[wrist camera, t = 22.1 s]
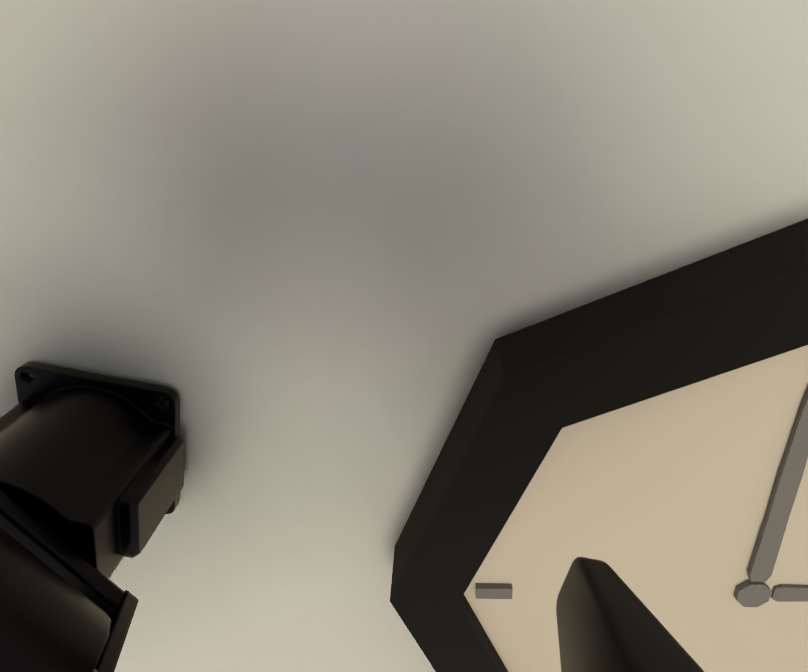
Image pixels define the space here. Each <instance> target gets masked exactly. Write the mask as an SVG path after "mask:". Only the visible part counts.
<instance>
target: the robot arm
mask: <svg viewBox="0 0 808 672" xmlns="http://www.w3.org/2000/svg"><path fill="white" fill-rule="evenodd" d="M28 373H30V374H31V375H32V376H33V377H31V376H30V375H29V374H28ZM15 380H16V387H17V394H18V401H19V404H18V405H17V406H15V407H14V408H13V409H11V410H10V411H9V412H7V413H6V414H4V415H3V416H2V417H0V672H114V670H115V667H116V664H117V662H118V659H119V656H120V653H121V650H122V647H123V644H124V641H125V638H126V635H127V632H128V629H129V627H130V624H131V621H132V618H133V615H134V612H135V609H136V606H137V603H138V599H137V598H136V597H134V596H133V595H132V594H131V593H130V592H129V591H127V590H126V591H123V590H121V589H120V588H119V587H118V586H117V585H115V584H114V583H113V582H112V581H111V580H109V578H110V576H111V575H112V573H113V572H114V570H115V569H116V567H117V566H118V564H119V563H120V561H121V560H122V558H123V557H124V556H125V557H131V558H134V557H135V556H137V555H138V554H139V553H141V551H142V550H143V548H144V547H145V545H146V543H147V542H148V540H149V539H150V537H151V536H152V534H153V533H154V531H155V529H156V528H157V526H158V525H159V523H160V522H161V520H162V518H163V517H164V515H165V514H169V513H172V512H173V511H174V509H175V508H176V506H177V505H178V502H179V492H180V490H181V489H182V487H183V485H184V441H183V439H182V437H181V436H179V395H178V394H177V392H176V391H174V390H173V389H171V388H169V387H164V386H159V385H153V384H148V383H143V382H137V381H132V380H126V379H121V378H116V377H110V376H105V375H99V374H94V373H88V372H83V371H78V370H72V369H67V368H61V367H56V366H50V365H45V364H40V363H34V362H27V363H25V364H23V365H22V366H20V367H19V368H17V370H16V371H15ZM162 397H164V398H166V399H167V400H168V401H169V403H167V402H165V401H163V400H162ZM556 616H557V628H558V639H559V650H560V662H561V672H704V670H703V669H702V668H701V667H700V666H699V665H698V664H697V663H696V662H695V660H694V659H693V658H692V657H691V656H690V655H689V654H688V653H687V652H686V650H685V649H684V648H683V647H682V646H681V645H680V644H679V643H678V641H677V640H676V639H675V638H674V637H673V636H672V635H671V634H670V633H669V631H668V630H667V629H666V628H665V627H664V626H663V625H662V624H661V623H660V621H659V620H658V619H657V618H656V617H655V616H654V615H653V614H652V613H651V611H650V610H649V609H648V608H647V607H646V606H645V605H644V604H643V602H642V601H641V600H640V599H639V598H638V597H637V596H636V595H635V594H634V592H633V591H632V590H631V589H630V588H629V587H628V586H627V585H626V584H625V582H624V581H623V580H622V579H621V578H620V577H619V576H618V575H617V573H616V572H615V571H614V570H613V569H612V568H611V567H610V566H609V565H608V564H607V563H606V562H604V561H601V560H596V559H591V558H585V557H577V558H576V559H575V560H574V561H573V562H572V564H571V566H570V569H569V571H568V573H567V575H566V578H565V580H564V582H563V585H562V587H561V589H560V591H559V594H558V597H557V603H556Z"/></svg>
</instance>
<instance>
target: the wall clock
mask: <svg viewBox="0 0 808 672" xmlns="http://www.w3.org/2000/svg"><path fill="white" fill-rule="evenodd" d="M577 557H585V558H591V559H596V560H601V561H604V562H606V563H607V564H608V565H609V566H610V567H611V568H612V569H613V570H614V571H615V572H616V573H617V575H618V576H619V577H620V578H621V579H622V580H623V581H624V582H625V584H626V585H627V586H628V587H629V588H630V589H631V590H632V591H633V592H634V594H635V595H636V596H637V597H638V598H639V599H640V600H641V601H642V602H643V604H644V605H645V606H646V607H647V608H648V609H649V610H650V611H651V613H652V614H653V615H654V616H655V617H656V618H657V619H658V620H659V621H660V623H661V624H662V625H663V626H664V627H665V628H666V629H667V630H668V631H669V633H670V634H671V635H672V636H673V637H674V638H675V639H676V640H677V641H678V643H679V644H680V645H681V646H682V647H683V648H684V649H685V650H686V652H687V653H688V654H689V655H690V656H691V657H692V658H693V659H694V660H695V662H696V663H697V664H698V665H699V666H700V667H701V668H702V669H703V670H704V672H808V219H807V220H804V221H802V222H799V223H796V224H794V225H791V226H789V227H786V228H783V229H781V230H778V231H776V232H773V233H770V234H768V235H765V236H763V237H760V238H757V239H755V240H752V241H750V242H747V243H745V244H742V245H739V246H737V247H734V248H732V249H729V250H726V251H724V252H721V253H719V254H716V255H713V256H711V257H708V258H706V259H703V260H700V261H698V262H695V263H693V264H690V265H687V266H685V267H682V268H680V269H677V270H675V271H672V272H669V273H667V274H664V275H662V276H659V277H656V278H654V279H651V280H649V281H646V282H643V283H641V284H638V285H636V286H633V287H630V288H628V289H625V290H623V291H620V292H618V293H615V294H612V295H610V296H607V297H605V298H602V299H599V300H597V301H594V302H592V303H589V304H586V305H584V306H581V307H579V308H576V309H573V310H571V311H568V312H566V313H563V314H560V315H558V316H555V317H553V318H550V319H548V320H545V321H542V322H540V323H537V324H535V325H532V326H529V327H527V328H524V329H522V330H519V331H516V332H514V333H511V334H509V335H506V336H503V337H501V338H498V339H496V340H495V341H494V344H493V346H492V348H491V350H490V352H489V354H488V356H487V358H486V360H485V362H484V364H483V366H482V368H481V370H480V372H479V374H478V376H477V379H476V381H475V383H474V385H473V387H472V389H471V391H470V393H469V395H468V397H467V399H466V401H465V403H464V405H463V407H462V409H461V411H460V414H459V416H458V418H457V420H456V422H455V424H454V426H453V428H452V430H451V432H450V434H449V436H448V438H447V440H446V442H445V444H444V446H443V449H442V451H441V453H440V455H439V457H438V459H437V461H436V463H435V465H434V467H433V469H432V471H431V473H430V475H429V477H428V479H427V481H426V484H425V486H424V488H423V490H422V492H421V494H420V496H419V498H418V500H417V502H416V504H415V506H414V508H413V510H412V512H411V514H410V517H409V519H408V521H407V523H406V525H405V527H404V529H403V531H402V533H401V535H400V537H399V539H398V541H397V543H396V545H395V551H394V562H393V573H392V584H391V596H390V602H391V603H392V605H393V607H394V608H395V610H396V611H397V613H398V614H399V616H400V617H401V619H402V620H403V622H404V623H405V625H406V626H407V628H408V630H409V631H410V633H411V634H412V636H413V637H414V639H415V640H416V642H417V643H418V645H419V646H420V648H421V649H422V651H423V653H424V654H425V656H426V657H427V659H428V660H429V662H430V663H431V665H432V666H433V668H434V669H435V671H436V672H561V662H560V650H559V639H558V628H557V616H556V603H557V597H558V594H559V591H560V589H561V587H562V585H563V582H564V580H565V578H566V575H567V573H568V571H569V569H570V566H571V564H572V562H573V561H574V560H575V559H576V558H577Z"/></svg>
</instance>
